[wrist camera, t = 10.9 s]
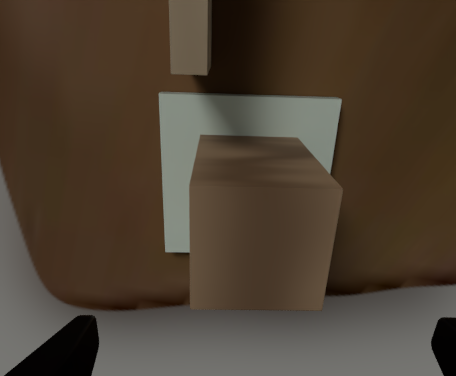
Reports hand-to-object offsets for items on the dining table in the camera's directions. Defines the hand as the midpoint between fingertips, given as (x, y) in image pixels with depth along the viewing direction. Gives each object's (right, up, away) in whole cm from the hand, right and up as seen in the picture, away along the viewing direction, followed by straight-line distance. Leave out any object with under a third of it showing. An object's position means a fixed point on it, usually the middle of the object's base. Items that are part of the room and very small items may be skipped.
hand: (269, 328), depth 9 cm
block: (0, +4, +10) cm, 10 cm away
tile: (0, +4, +10) cm, 11 cm away
